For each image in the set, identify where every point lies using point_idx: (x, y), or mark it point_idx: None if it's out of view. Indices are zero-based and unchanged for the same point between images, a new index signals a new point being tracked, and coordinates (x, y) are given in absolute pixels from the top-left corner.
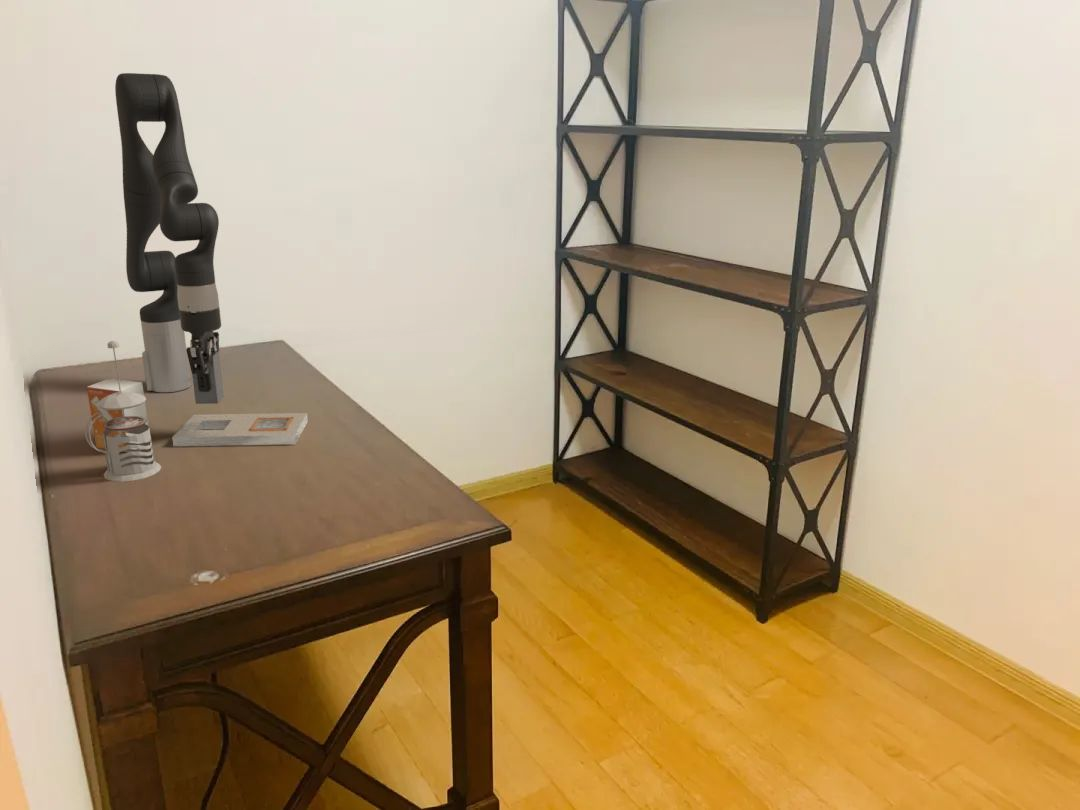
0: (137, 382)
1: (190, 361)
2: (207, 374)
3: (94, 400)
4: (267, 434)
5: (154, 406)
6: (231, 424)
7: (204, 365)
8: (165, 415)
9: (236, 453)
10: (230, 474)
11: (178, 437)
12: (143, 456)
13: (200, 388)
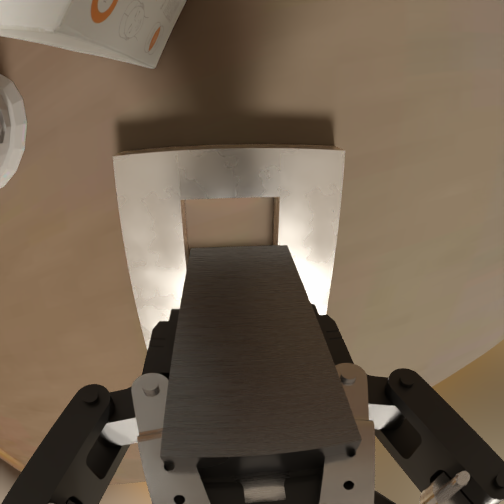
0: (53, 4)
1: (37, 458)
2: None
3: None
4: None
5: (470, 18)
6: None
7: (114, 464)
8: (410, 46)
9: (100, 318)
10: (15, 328)
11: (115, 175)
12: (5, 136)
13: (155, 330)
